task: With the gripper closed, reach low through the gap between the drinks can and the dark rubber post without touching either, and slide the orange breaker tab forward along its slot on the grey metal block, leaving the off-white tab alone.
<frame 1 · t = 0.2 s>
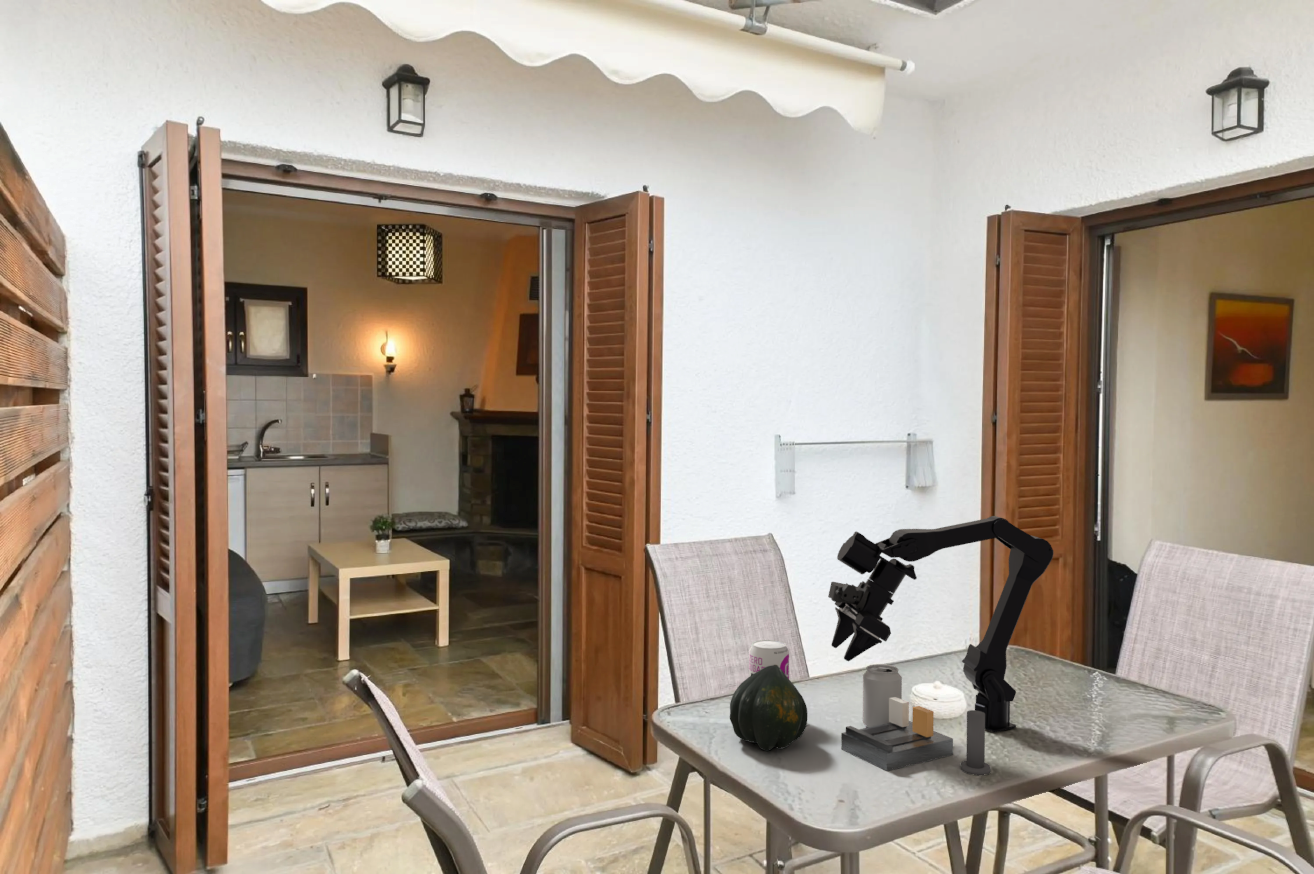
hand: (839, 653, 181), 15 cm above the table, tool tilted 30°, fingers open, 9 cm apart
breaker block: (896, 751, 167), on the table
supplement can: (768, 717, 187), on the table
slider 1: (898, 711, 173), point 6 cm above the table, slide at 0.0 cm
rubber post: (975, 769, 159), on the table
squash: (767, 743, 172), on the table
slider 2: (922, 721, 167), point 6 cm above the table, slide at 0.0 cm
can: (881, 728, 181), on the table
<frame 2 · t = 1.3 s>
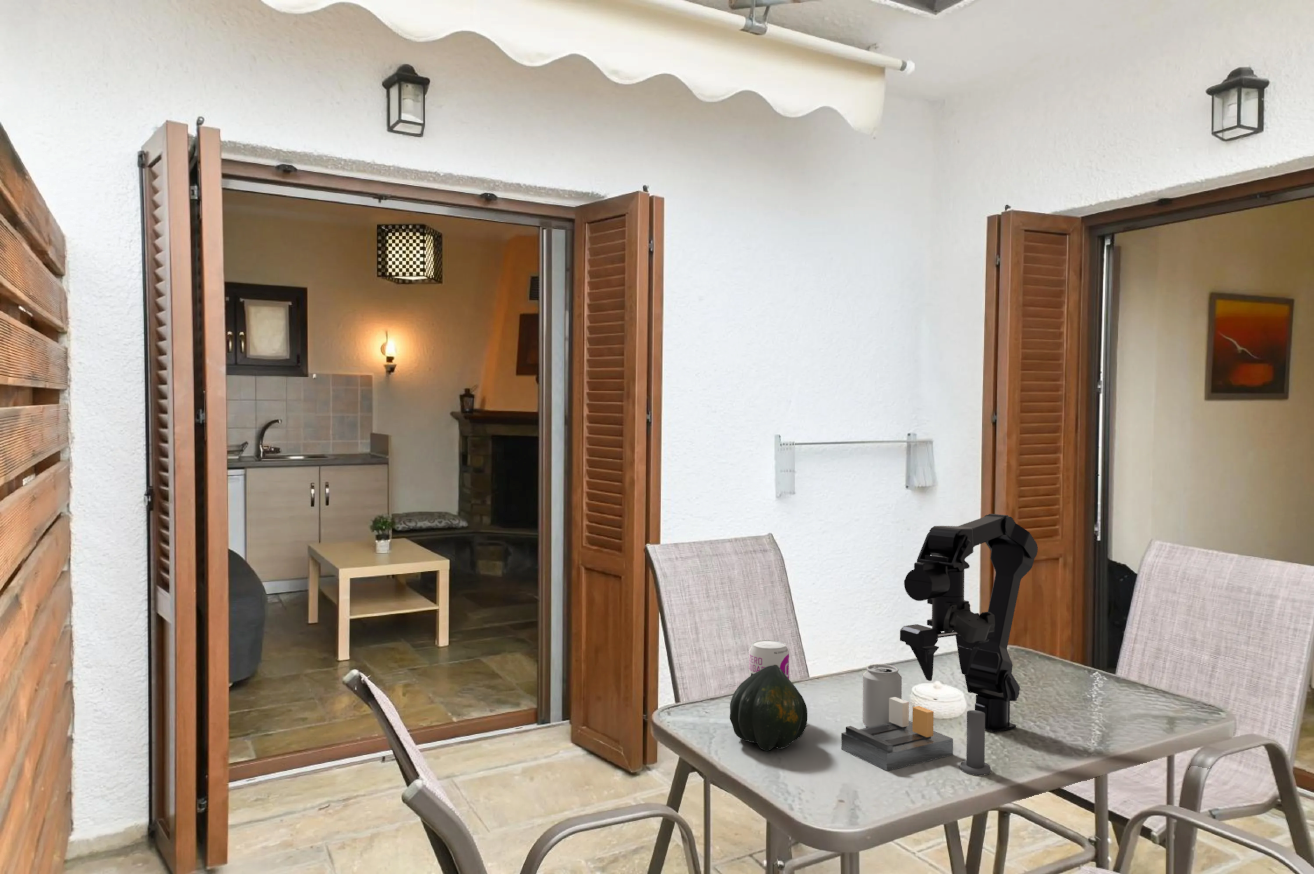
hand: (947, 677, 170), 13 cm above the table, tool pointing down, fingers open, 9 cm apart
nothing on the table moved.
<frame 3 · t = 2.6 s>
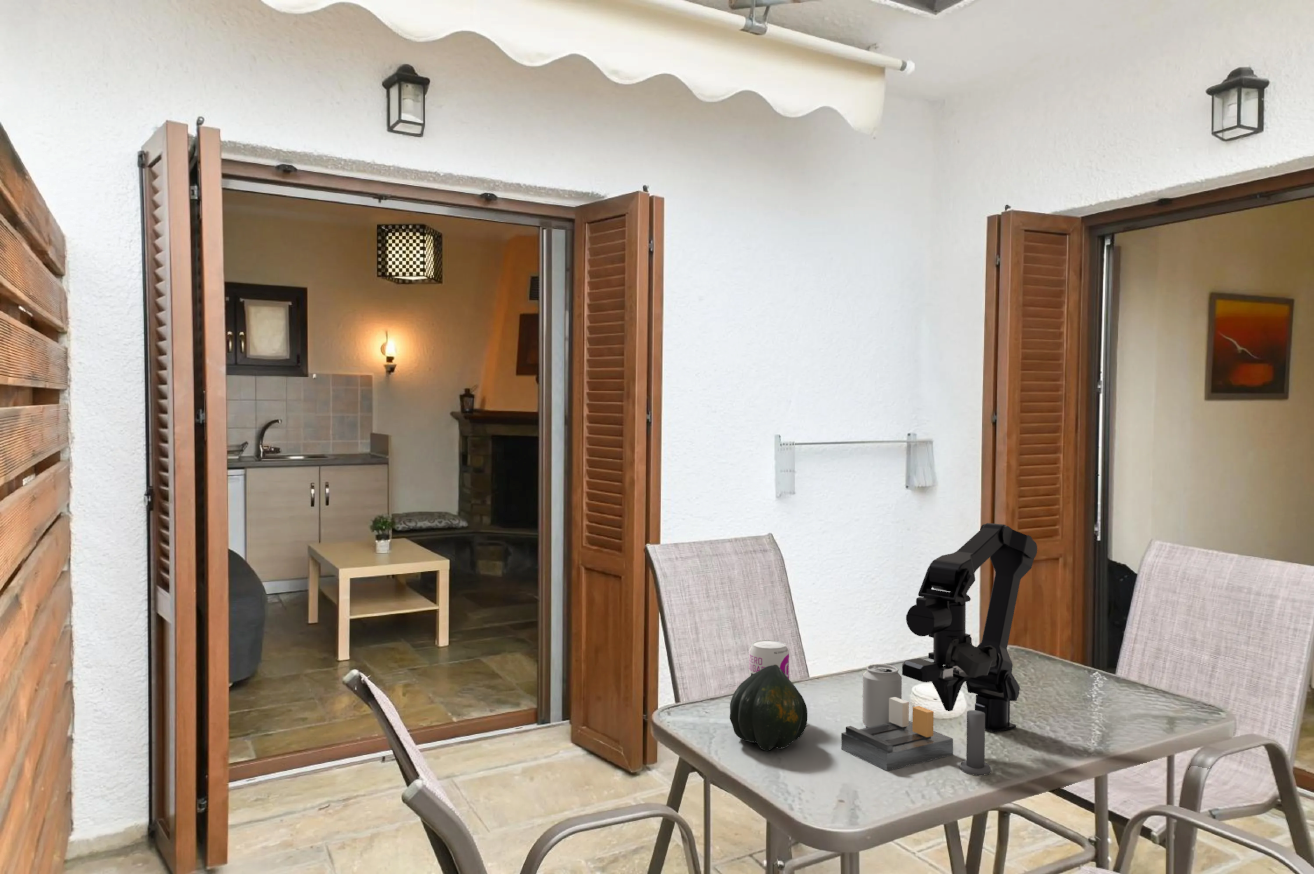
hand: (948, 710, 170), 7 cm above the table, tool pointing down, fingers closed
nothing on the table moved.
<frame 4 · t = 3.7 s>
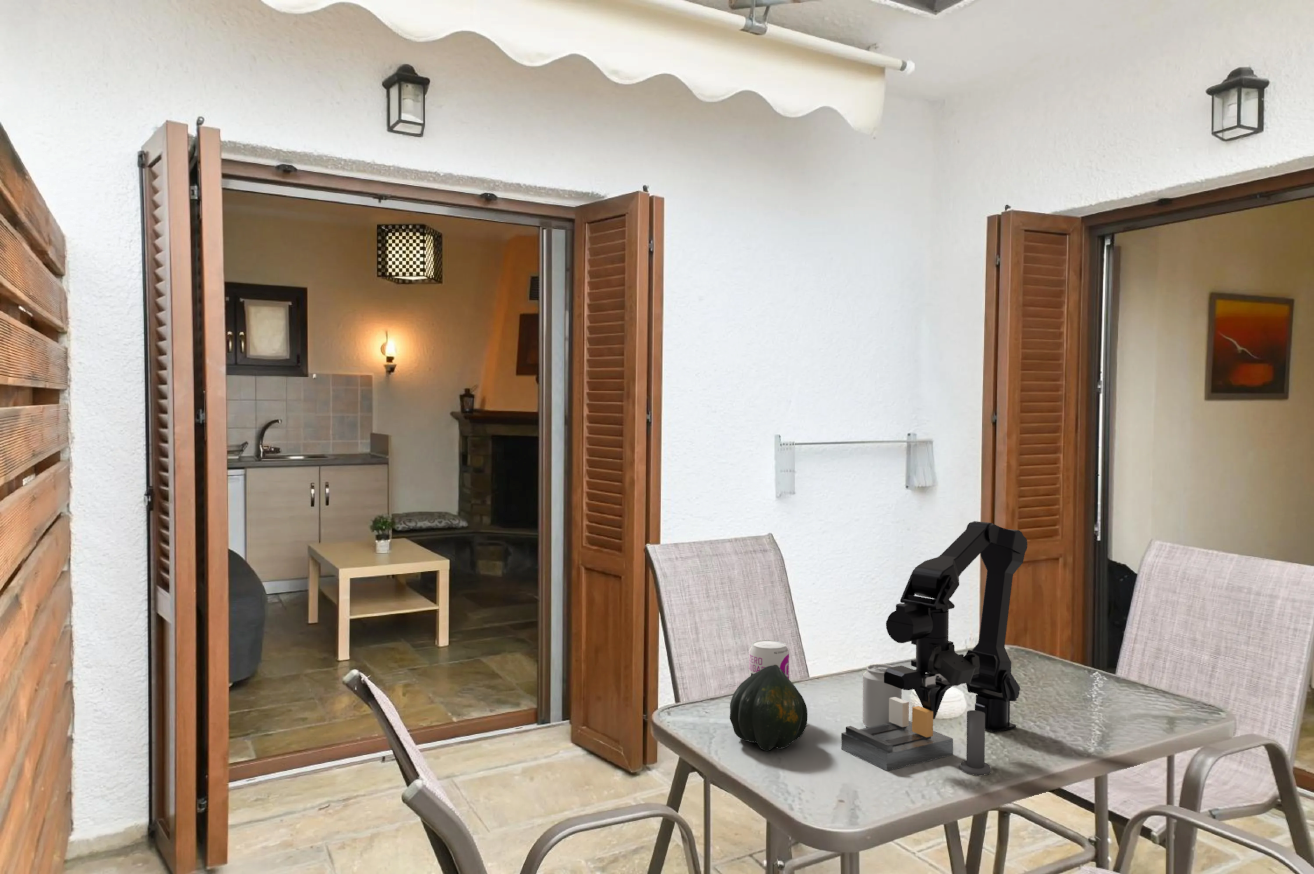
hand: (931, 718, 168), 6 cm above the table, tool pointing down, fingers closed
slider 2: (922, 721, 167), point 6 cm above the table, slide at 0.1 cm, touching gripper
everything else where it was.
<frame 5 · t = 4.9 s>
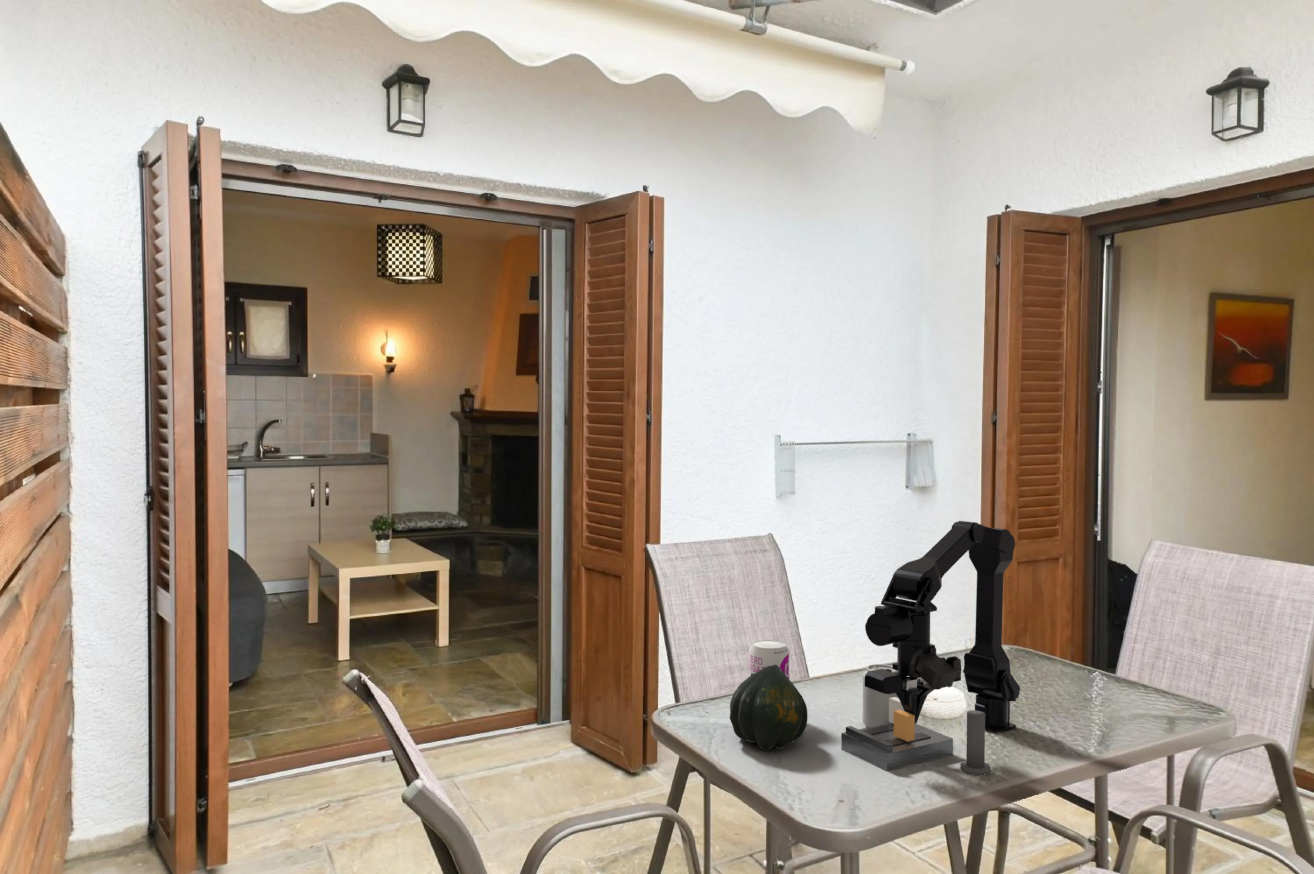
hand: (913, 722, 166), 6 cm above the table, tool pointing down, fingers closed
slider 2: (904, 725, 165), point 6 cm above the table, slide at 4.7 cm, touching gripper
everything else where it was.
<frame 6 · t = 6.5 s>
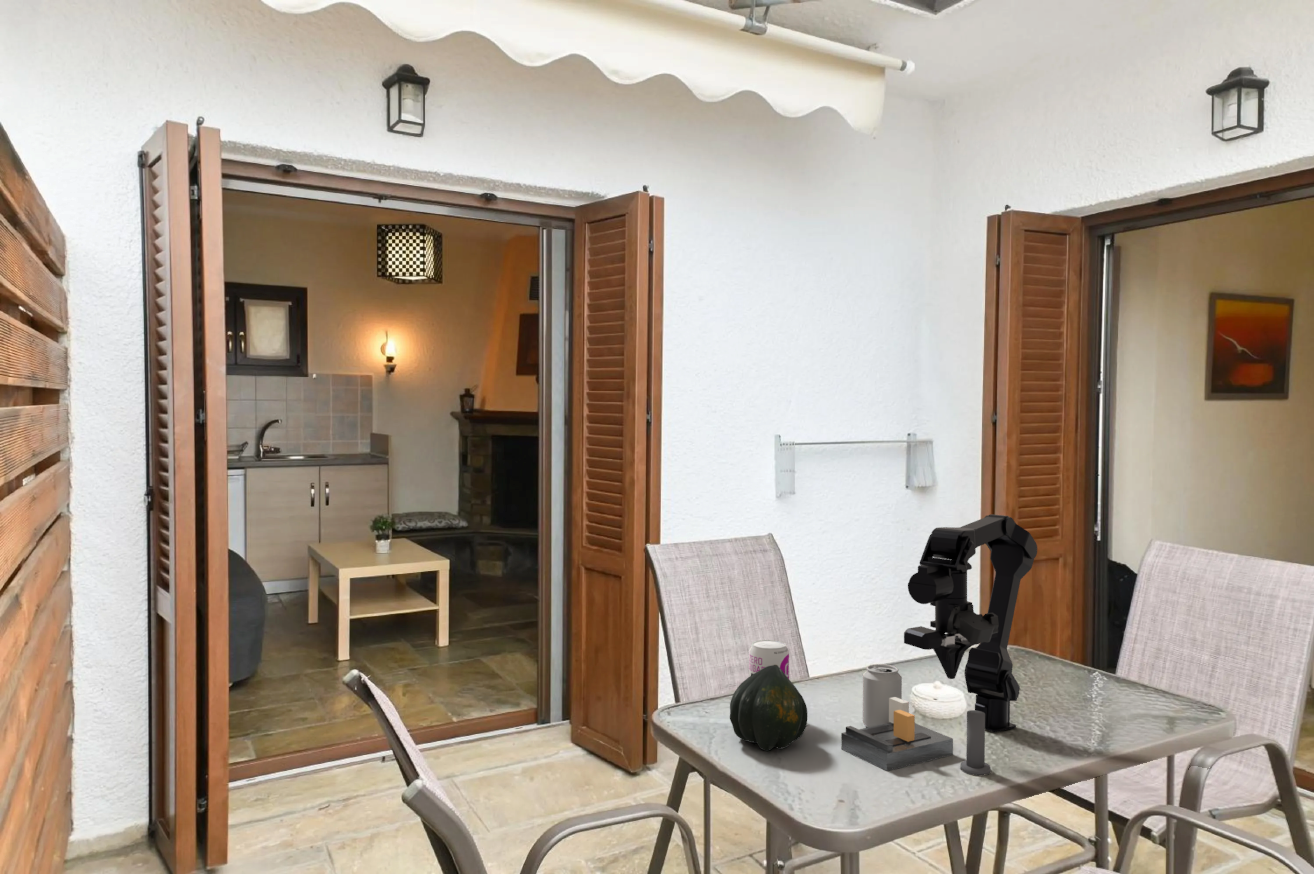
hand: (951, 678, 170), 13 cm above the table, tool pointing down, fingers closed
slider 2: (904, 725, 165), point 6 cm above the table, slide at 4.7 cm
everything else where it was.
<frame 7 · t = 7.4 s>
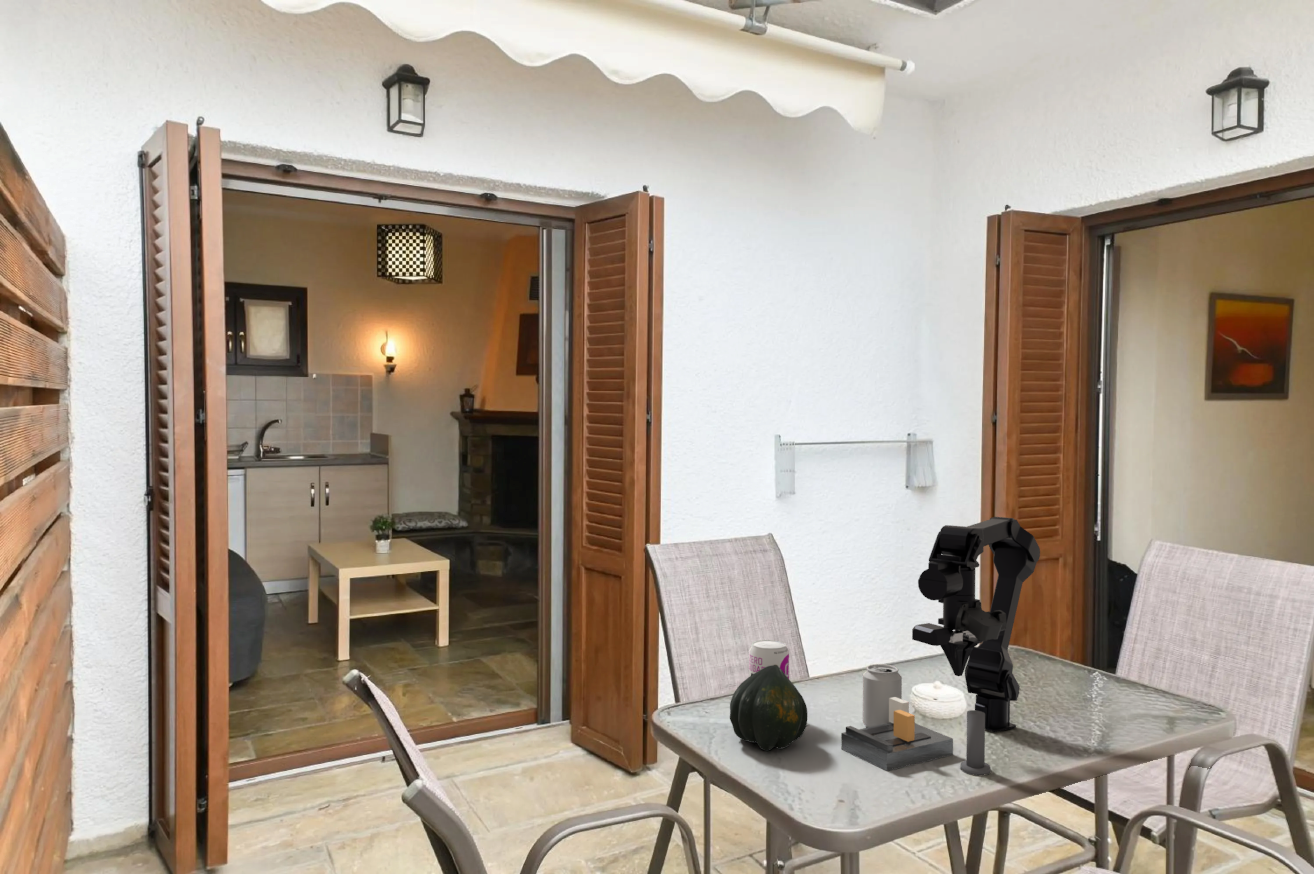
hand: (958, 675, 171), 13 cm above the table, tool pointing down, fingers closed
nothing on the table moved.
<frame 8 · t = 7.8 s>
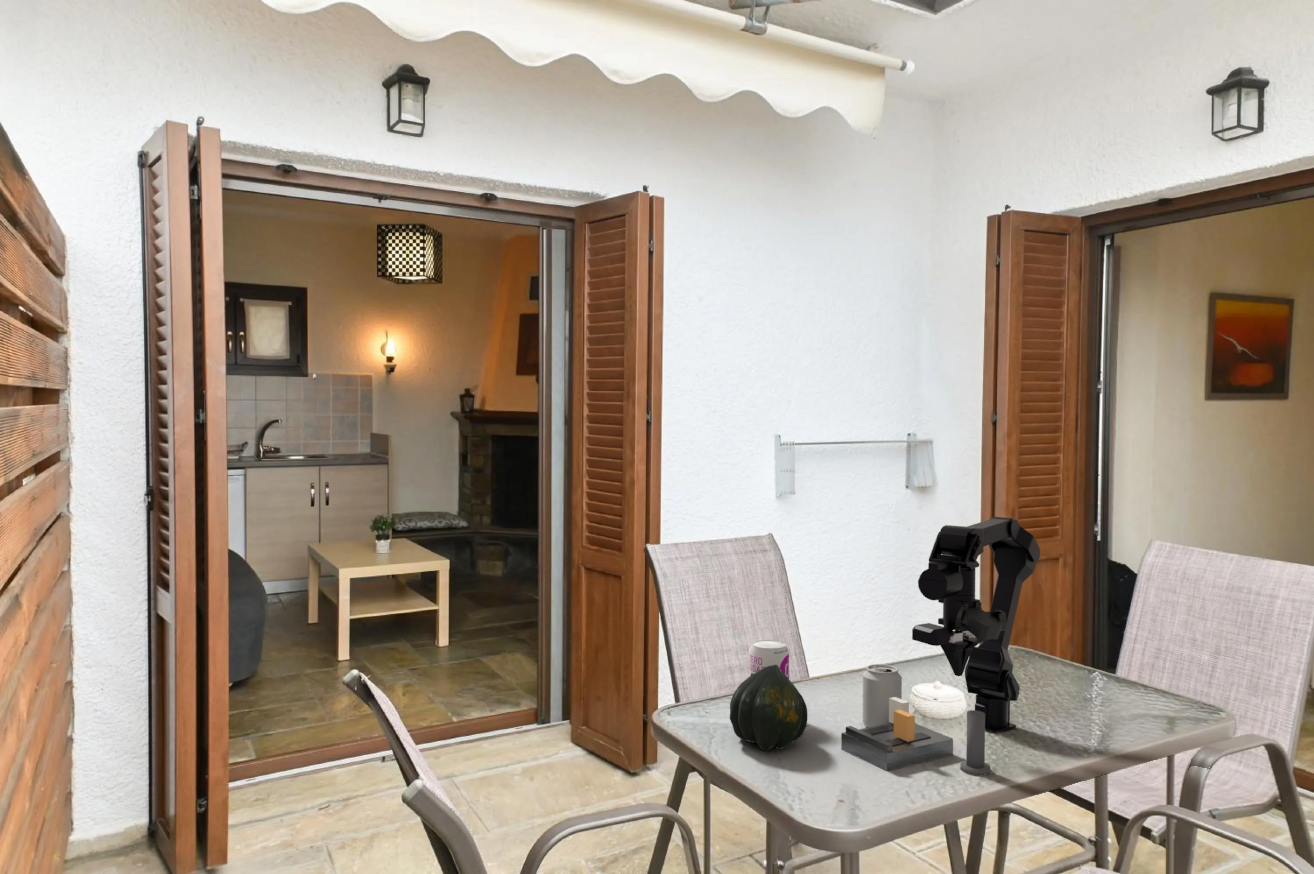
hand: (958, 675, 171), 13 cm above the table, tool pointing down, fingers closed
nothing on the table moved.
at the end: slider 2 slide at 4.7 cm; slider 1 slide at 0.0 cm; can moved 0.2 cm from its start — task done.
